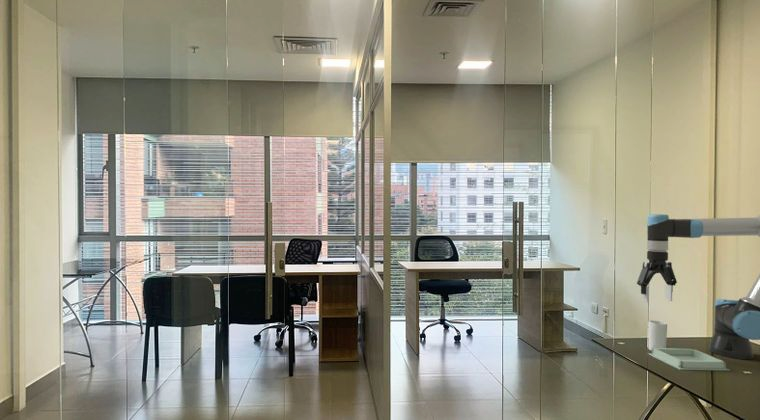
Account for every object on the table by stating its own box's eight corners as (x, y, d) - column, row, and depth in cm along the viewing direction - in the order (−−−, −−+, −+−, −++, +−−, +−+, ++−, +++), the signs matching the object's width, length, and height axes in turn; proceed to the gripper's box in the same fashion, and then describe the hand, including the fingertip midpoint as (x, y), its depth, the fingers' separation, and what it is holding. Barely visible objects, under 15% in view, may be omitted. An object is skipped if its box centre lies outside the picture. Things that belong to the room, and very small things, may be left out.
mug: (666, 353, 187) (667, 325, 187) (647, 350, 190) (648, 322, 190) (666, 348, 195) (667, 320, 195) (648, 345, 199) (649, 318, 199)
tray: (693, 355, 186) (693, 348, 186) (730, 370, 168) (730, 362, 168) (647, 354, 185) (648, 347, 185) (679, 369, 167) (680, 362, 167)
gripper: (670, 249, 196) (669, 298, 195) (627, 250, 187) (627, 301, 187) (687, 251, 189) (686, 301, 188) (643, 251, 180) (643, 304, 180)
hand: (656, 301), depth 188 cm, fingers open, 13 cm apart
